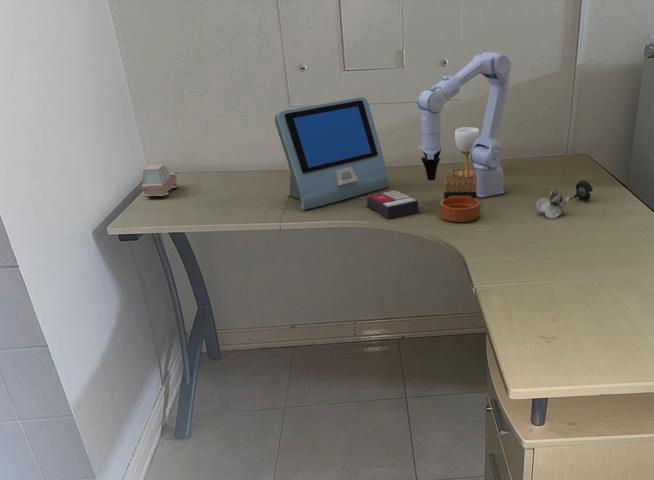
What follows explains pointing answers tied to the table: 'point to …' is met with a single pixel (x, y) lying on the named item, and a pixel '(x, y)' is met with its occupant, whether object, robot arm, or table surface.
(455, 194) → the ammunition clip
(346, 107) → the touchscreen device
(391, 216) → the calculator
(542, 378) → the table surface
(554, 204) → the artificial flower
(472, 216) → the bowl
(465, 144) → the cup
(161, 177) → the toy car
